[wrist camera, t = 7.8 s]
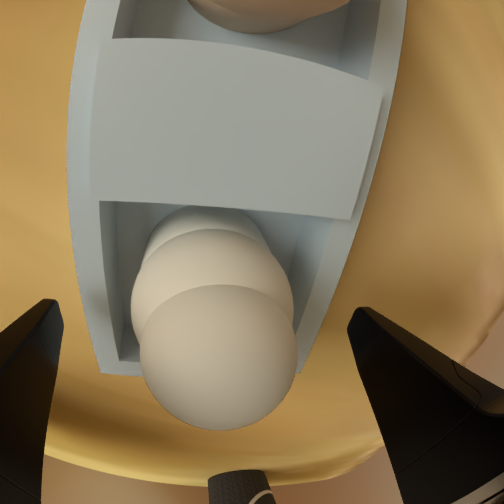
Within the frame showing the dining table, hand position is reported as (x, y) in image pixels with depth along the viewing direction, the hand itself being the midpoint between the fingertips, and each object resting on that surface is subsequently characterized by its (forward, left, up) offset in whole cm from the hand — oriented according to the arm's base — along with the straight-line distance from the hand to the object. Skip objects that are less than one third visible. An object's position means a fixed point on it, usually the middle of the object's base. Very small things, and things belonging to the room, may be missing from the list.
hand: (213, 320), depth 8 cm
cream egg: (0, 0, -3) cm, 3 cm away
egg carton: (+5, 0, -4) cm, 6 cm away
